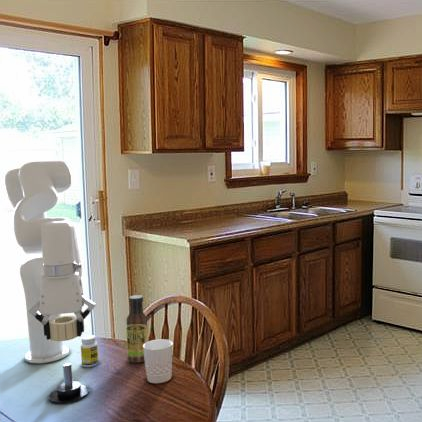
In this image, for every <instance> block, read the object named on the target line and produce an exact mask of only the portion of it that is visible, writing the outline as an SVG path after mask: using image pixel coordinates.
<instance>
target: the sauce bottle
mask: <svg viewBox="0 0 422 422" xmlns="http://www.w3.org/2000/svg"><path fill="white" fill-rule="evenodd" d="M128 302H129V313H128V315H127V317H126V318H125V319H126V320H125V321H126V326H125V329H126V330H125V332H126V334H125V335H126V356H127V362H129V363H134V364H138V363H143V362H145V361H144V351H143V345H144V344H145V343H146V342H148V341H149V338H148V337H149V334H148V317H147V316H146V314H145V312H144V308H143V307H144V306H143V302H144V296H143V295H142V294H134V295H130V296H129V298H128Z"/></svg>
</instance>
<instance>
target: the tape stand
mask: <svg viewBox="0 0 422 422" xmlns="http://www.w3.org/2000/svg"><path fill="white" fill-rule="evenodd" d="M62 370H63V371H62V372H63V383H61V384H59V385H57V387H56V389H54V390H53V391H51V392H50V393H49V394H48V401H49V402H50V403H51V404H55V405H65V404H72V403H75V402H79V401H81V400H83V399H85V398H86V397H88V395H90V387H89V386H87V385H85V384H81V382H80V381H73V370H72V363H71V362H67V363H64V364H63V365H62Z"/></svg>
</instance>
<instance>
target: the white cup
mask: <svg viewBox="0 0 422 422" xmlns="http://www.w3.org/2000/svg"><path fill="white" fill-rule="evenodd" d="M143 351H144V361H143V362H144V367H145V372H146V374H145V375H146V380H147V382H149V384H163V383H166V382H169V381H170V380H171V379H172V378H173V369H172V368H173V342H172V340H170V339H165V338H158V339H152V340H148V342H146V343H145V344H144V345H143Z"/></svg>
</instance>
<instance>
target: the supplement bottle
mask: <svg viewBox="0 0 422 422" xmlns="http://www.w3.org/2000/svg"><path fill="white" fill-rule="evenodd" d="M80 355H81V357H80V358H81V366H82V367H84V368H90V367H91V368H93V367H95V366H97V365H99V349H98V343H97V336H96V335H94V334H90V335H84V336H81V344H80Z"/></svg>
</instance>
